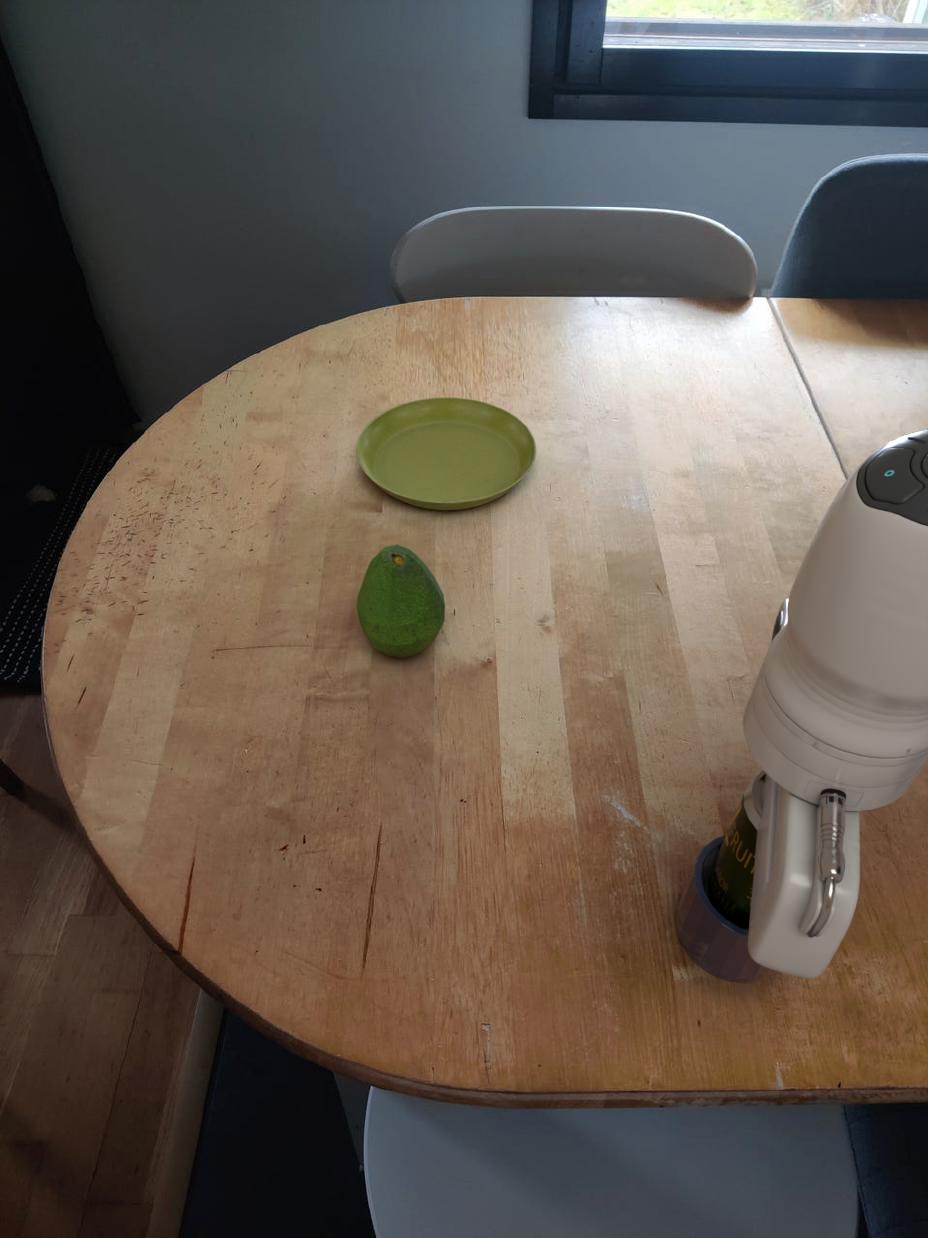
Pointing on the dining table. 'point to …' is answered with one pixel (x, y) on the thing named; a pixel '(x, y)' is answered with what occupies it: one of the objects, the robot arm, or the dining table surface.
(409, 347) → the dining table surface
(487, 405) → the saucer
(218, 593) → the dining table surface
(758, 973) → the cup
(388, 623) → the avocado
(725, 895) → the dark green drink can
